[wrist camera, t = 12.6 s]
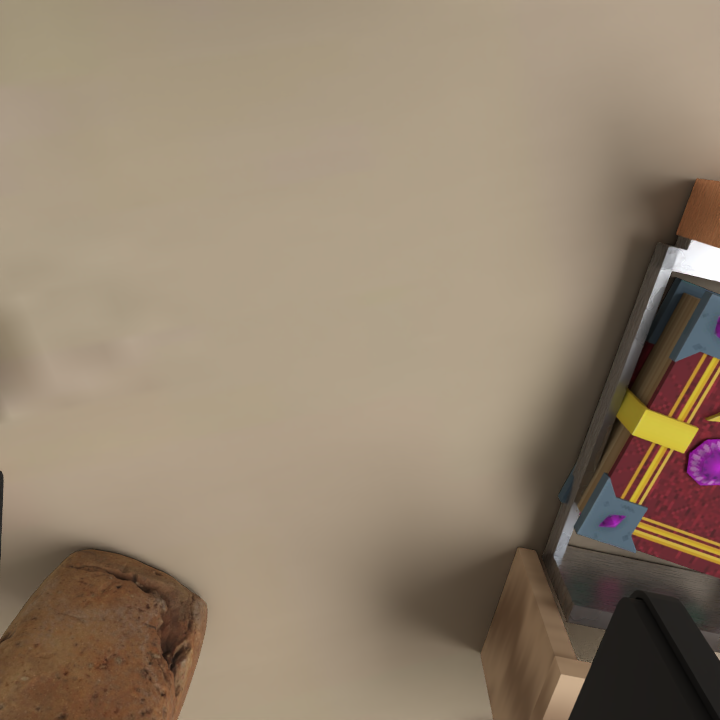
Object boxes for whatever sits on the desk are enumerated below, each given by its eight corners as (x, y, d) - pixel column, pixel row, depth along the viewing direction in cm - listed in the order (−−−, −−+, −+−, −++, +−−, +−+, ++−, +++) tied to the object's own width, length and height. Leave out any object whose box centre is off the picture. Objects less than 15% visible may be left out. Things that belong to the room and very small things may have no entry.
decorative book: (846, 342, 37) (913, 372, 33) (703, 561, 43) (744, 614, 38) (671, 275, 36) (715, 295, 32) (547, 507, 42) (568, 554, 37)
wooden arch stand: (518, 547, 42) (561, 674, 32) (762, 596, 43) (879, 736, 33) (480, 653, 45) (509, 801, 35) (709, 698, 46) (802, 855, 36)
